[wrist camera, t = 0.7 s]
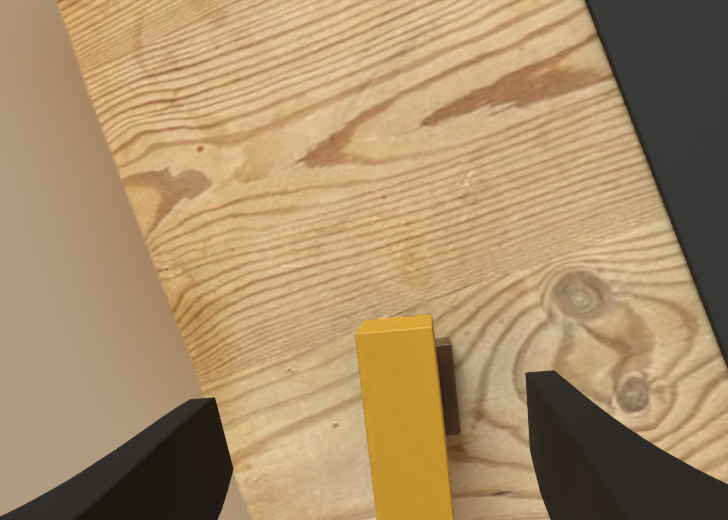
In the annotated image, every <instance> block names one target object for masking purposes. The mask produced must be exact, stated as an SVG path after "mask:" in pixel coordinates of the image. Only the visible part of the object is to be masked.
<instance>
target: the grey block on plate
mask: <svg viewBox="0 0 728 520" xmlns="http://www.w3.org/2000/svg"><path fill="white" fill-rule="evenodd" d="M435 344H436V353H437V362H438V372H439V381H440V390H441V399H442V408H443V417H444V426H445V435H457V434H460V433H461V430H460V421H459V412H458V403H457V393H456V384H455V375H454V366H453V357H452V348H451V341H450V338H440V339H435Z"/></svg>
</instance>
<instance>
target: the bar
mask: <svg viewBox="0 0 728 520" xmlns="http://www.w3.org/2000/svg"><path fill="white" fill-rule="evenodd" d="M355 338H356V347H357V355H358V364H359V373H360V381H361V390H362V398H363V407H364V415H365V424H366V432H367V441H368V449H369V458H370V467H371V475H372V484H373V492H374V501H375V509H376V518H377V520H454V513H453V500H452V489H451V480H450V471H449V462H448V453H447V444H446V435H445V426H444V417H443V408H442V399H441V390H440V381H439V372H438V362H437V353H436V344H435V335H434V326H433V317H432V315H431V314H429V315H418V316H408V317H397V318H387V319H376V320H366V321H364V322H363V324H362V325H361V327H360V328H359V329H358V331H357V332H356V334H355Z"/></svg>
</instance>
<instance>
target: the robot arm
mask: <svg viewBox="0 0 728 520" xmlns="http://www.w3.org/2000/svg"><path fill="white" fill-rule="evenodd" d="M525 374H526V391H527V407H528V424H529V440H530V452H531V457H532V461H533V465H534V469H535V473H536V477H537V481H538V485H539V489H540V493H541V495H542V498H543V501H544V504H545V506H546V509H547V511H548V514H549V517H550V519H551V520H728V484H726V483H724V482H722V481H720V480H718V479H715V478H713V477H711V476H709V475H707V474H705V473H703V472H701V471H699V470H697V469H696V468H694V467H692V466H690V465H688V464H686V463H685V462H683V461H681V460H679V459H677V458H676V457H674V456H672V455H670V454H668V453H667V452H665V451H663V450H662V449H660V448H658V447H657V446H655V445H653V444H652V443H650V442H648V441H647V440H645V439H644V438H642V437H641V436H639V435H638V434H636V433H635V432H633V431H632V430H630V429H629V428H627V427H626V426H624V425H623V424H622V423H620V422H619V421H617V420H616V419H614V418H613V417H612V416H610V415H609V414H608V413H606V412H605V411H604V410H602V409H601V408H600V407H598V406H597V405H596V404H595V403H593V402H592V401H591V400H590V399H588V398H587V397H586V396H585V395H583V394H582V393H581V392H580V391H578V390H577V389H576V388H575V387H574V386H572V385H571V384H570V383H569V382H568V381H566V380H565V379H564V378H563V377H562V376H560V375H559V374H558V373H557V372H555V371H554V370H553V371H540V372H527V373H525ZM232 473H233V465H232V461H231V458H230V454H229V450H228V446H227V442H226V438H225V434H224V431H223V427H222V423H221V419H220V415H219V411H218V407H217V404H216V400H215V397H213V398H201V399H190V400H189V401H187V402H185V403H183V404H182V405H180V406H178V407H177V408H175V409H174V410H172V411H171V412H169V413H168V414H166V415H165V416H163V417H162V418H160V419H159V420H157V421H156V422H155V423H153V424H152V425H150V426H149V427H147V428H146V429H145V430H143V431H142V432H140V433H139V434H137V435H136V436H135V437H133V438H132V439H130V440H129V441H127V442H126V443H125V444H123V445H122V446H120V447H119V448H117V449H116V450H114V451H113V452H111V453H110V454H108V455H107V456H105V457H103V458H102V459H101V460H99V461H97V462H96V463H94V464H93V465H91V466H90V467H88V468H87V469H85V470H84V471H82V472H81V473H79V474H77V475H76V476H75V477H72V478H71V479H69V480H68V481H66V482H64V483H62V484H61V485H59V486H57V487H56V488H54V489H52V490H50V491H48V492H47V493H45V494H43V495H41V496H39V497H38V498H36V499H34V500H32V501H31V502H29V503H27V504H25V505H23V506H21V507H19V508H17V509H15V510H13V511H11V512H9V513H6V514H5V515H2V516H0V520H218V517H219V515H220V512H221V510H222V507H223V504H224V501H225V498H226V494H227V491H228V487H229V484H230V480H231V476H232Z"/></svg>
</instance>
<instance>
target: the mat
mask: <svg viewBox="0 0 728 520" xmlns="http://www.w3.org/2000/svg"><path fill="white" fill-rule="evenodd" d="M585 1H586V3H587V6H588V8H589V11H590V14H591V16H592V19H593V21H594V24H595V26H596V29H597V32H598V34H599V37H600V39H601V42H602V45H603V47H604V50H605V52H606V55H607V57H608V60H609V63H610V65H611V68H612V70H613V73H614V75H615V78H616V81H617V83H618V86H619V88H620V91H621V93H622V96H623V99H624V101H625V104H626V106H627V109H628V112H629V114H630V117H631V119H632V122H633V124H634V127H635V130H636V132H637V135H638V137H639V140H640V142H641V145H642V148H643V150H644V153H645V155H646V158H647V160H648V163H649V166H650V168H651V171H652V173H653V176H654V178H655V181H656V184H657V186H658V189H659V191H660V194H661V197H662V199H663V202H664V204H665V207H666V209H667V212H668V215H669V217H670V220H671V222H672V225H673V227H674V230H675V233H676V235H677V238H678V240H679V243H680V245H681V248H682V251H683V253H684V256H685V258H686V261H687V263H688V266H689V269H690V271H691V274H692V276H693V279H694V282H695V284H696V287H697V289H698V292H699V294H700V297H701V300H702V302H703V305H704V307H705V310H706V312H707V315H708V318H709V320H710V323H711V325H712V328H713V330H714V333H715V336H716V338H717V341H718V343H719V346H720V349H721V351H722V354H723V356H724V359H725V361H726V364H727V367H728V0H585Z"/></svg>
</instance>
